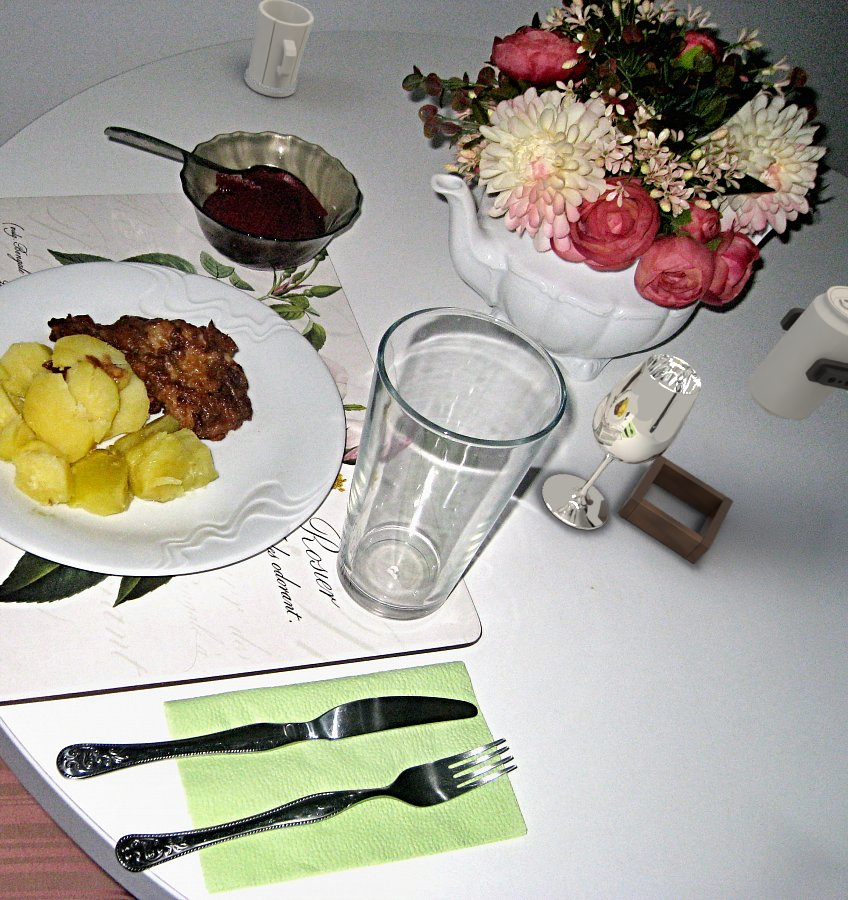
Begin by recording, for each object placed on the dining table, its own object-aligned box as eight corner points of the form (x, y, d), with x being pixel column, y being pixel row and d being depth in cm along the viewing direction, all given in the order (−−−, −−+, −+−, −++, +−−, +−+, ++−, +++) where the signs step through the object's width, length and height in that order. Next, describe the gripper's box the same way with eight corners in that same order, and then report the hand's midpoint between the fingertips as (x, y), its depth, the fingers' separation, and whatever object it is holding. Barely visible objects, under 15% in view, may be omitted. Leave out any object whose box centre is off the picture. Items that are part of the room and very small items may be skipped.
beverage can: (817, 430, 85) (910, 335, 76) (755, 419, 84) (841, 322, 75) (793, 383, 89) (878, 289, 80) (733, 372, 88) (813, 276, 79)
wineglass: (527, 494, 98) (619, 363, 83) (564, 464, 102) (658, 334, 88) (585, 543, 95) (691, 415, 80) (620, 509, 99) (727, 383, 85)
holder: (718, 516, 102) (733, 500, 100) (693, 564, 96) (709, 548, 94) (645, 470, 104) (659, 453, 102) (617, 513, 99) (631, 497, 97)
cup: (313, 96, 148) (333, 24, 140) (277, 109, 143) (295, 35, 134) (268, 66, 152) (284, -6, 143) (231, 78, 147) (246, 4, 138)
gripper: (960, 297, 85) (798, 262, 83) (1040, 404, 75) (858, 366, 74) (903, 355, 90) (749, 323, 89) (970, 461, 81) (799, 427, 79)
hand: (799, 343), depth 81 cm, fingers closed on beverage can, 6 cm apart
